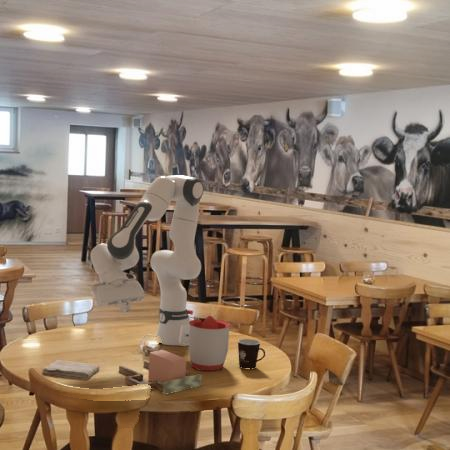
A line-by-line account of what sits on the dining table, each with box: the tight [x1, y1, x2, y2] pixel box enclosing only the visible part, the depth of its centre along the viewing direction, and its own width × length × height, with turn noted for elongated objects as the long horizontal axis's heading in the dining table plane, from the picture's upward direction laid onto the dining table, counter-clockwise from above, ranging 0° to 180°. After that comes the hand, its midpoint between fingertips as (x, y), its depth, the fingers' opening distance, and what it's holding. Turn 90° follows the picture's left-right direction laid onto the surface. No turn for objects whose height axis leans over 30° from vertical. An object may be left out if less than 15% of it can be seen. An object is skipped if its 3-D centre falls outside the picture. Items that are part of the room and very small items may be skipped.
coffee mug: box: [237, 338, 266, 370], centre depth 262 cm, size 12×9×10 cm
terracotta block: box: [147, 349, 187, 382], centre depth 239 cm, size 6×13×10 cm, turn 44°
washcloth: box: [42, 359, 100, 380], centre depth 245 cm, size 12×18×3 cm, turn 81°
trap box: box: [118, 360, 202, 395], centre depth 243 cm, size 24×29×4 cm
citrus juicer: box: [188, 315, 231, 371], centre depth 261 cm, size 16×17×20 cm
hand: (127, 311), depth 255 cm, fingers closed
